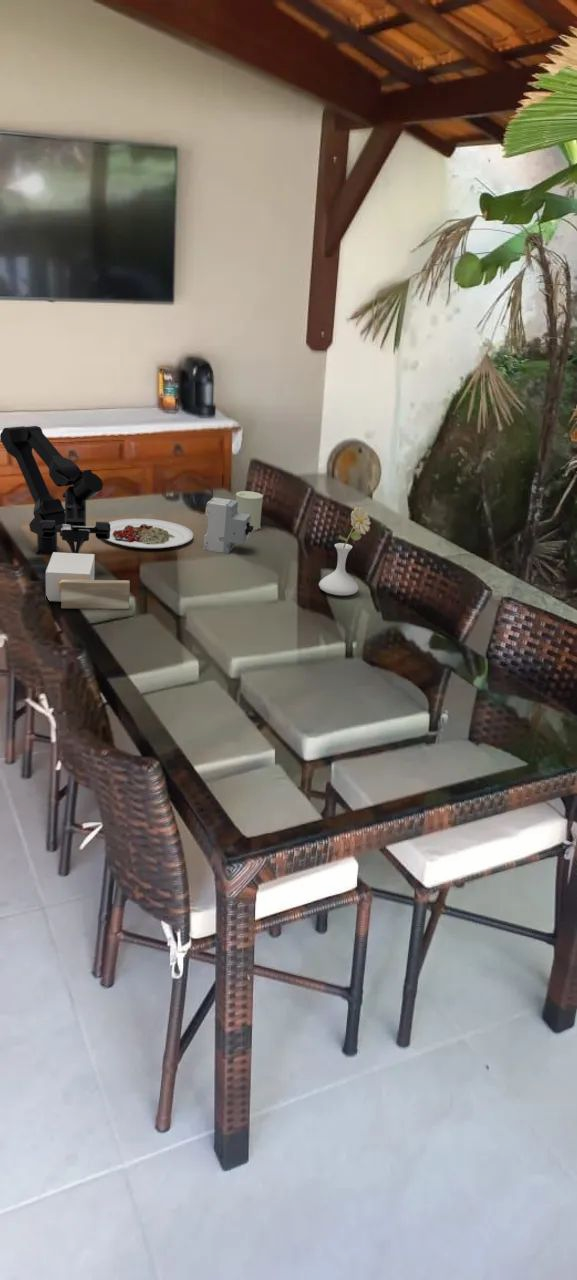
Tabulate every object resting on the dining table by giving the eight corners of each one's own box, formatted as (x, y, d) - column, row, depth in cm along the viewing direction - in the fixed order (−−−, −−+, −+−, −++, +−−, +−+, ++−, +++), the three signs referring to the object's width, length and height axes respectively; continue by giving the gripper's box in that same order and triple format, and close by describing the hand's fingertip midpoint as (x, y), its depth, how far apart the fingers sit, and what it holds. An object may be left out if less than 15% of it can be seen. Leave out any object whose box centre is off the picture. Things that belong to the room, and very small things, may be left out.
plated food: (211, 539, 299) (212, 529, 298) (151, 559, 275) (151, 548, 274) (141, 518, 313) (141, 508, 311) (77, 536, 289) (77, 525, 288)
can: (231, 523, 316) (233, 489, 311) (257, 523, 319) (260, 490, 314) (236, 531, 308) (238, 496, 303) (263, 532, 310) (265, 497, 306)
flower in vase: (330, 600, 256) (340, 513, 246) (311, 586, 265) (320, 502, 255) (370, 596, 262) (381, 511, 252) (349, 583, 271) (360, 500, 261)
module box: (53, 579, 252) (53, 552, 249) (94, 581, 254) (94, 554, 250) (45, 601, 238) (45, 572, 234) (89, 603, 239) (89, 574, 236)
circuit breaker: (247, 556, 285) (251, 509, 279) (203, 549, 287) (205, 502, 281) (253, 549, 292) (256, 503, 286) (209, 542, 294) (212, 497, 288)
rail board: (61, 604, 236) (61, 578, 233) (128, 604, 240) (129, 579, 237) (61, 608, 234) (61, 582, 231) (129, 608, 238) (129, 583, 235)
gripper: (108, 521, 265) (109, 570, 260) (41, 519, 261) (40, 569, 256) (110, 502, 255) (110, 553, 250) (40, 500, 251) (39, 552, 246)
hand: (75, 557), depth 251 cm, fingers closed
